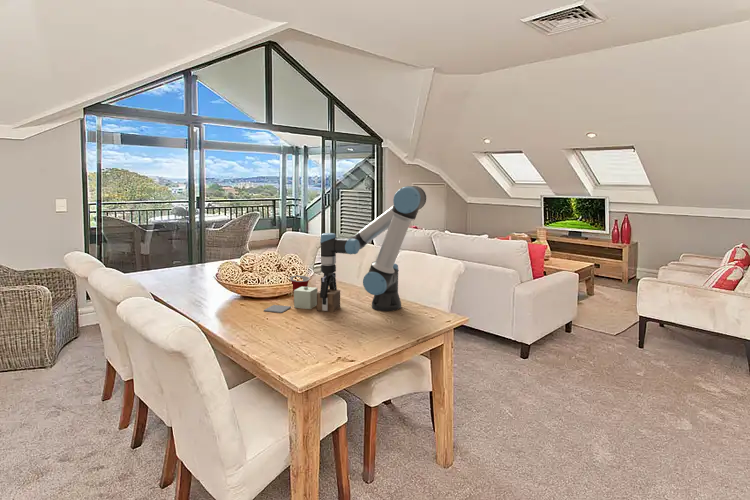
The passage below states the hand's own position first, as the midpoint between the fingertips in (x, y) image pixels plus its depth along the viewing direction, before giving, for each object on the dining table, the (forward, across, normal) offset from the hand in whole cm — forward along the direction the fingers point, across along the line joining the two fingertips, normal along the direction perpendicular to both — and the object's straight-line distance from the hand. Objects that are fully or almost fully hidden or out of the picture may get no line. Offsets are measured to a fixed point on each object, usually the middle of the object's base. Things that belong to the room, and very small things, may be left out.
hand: (328, 307), depth 241 cm
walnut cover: (0, 0, 0) cm, 0 cm away
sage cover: (0, -1, -13) cm, 13 cm away
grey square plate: (0, +9, -24) cm, 26 cm away
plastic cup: (+1, -13, -22) cm, 26 cm away
